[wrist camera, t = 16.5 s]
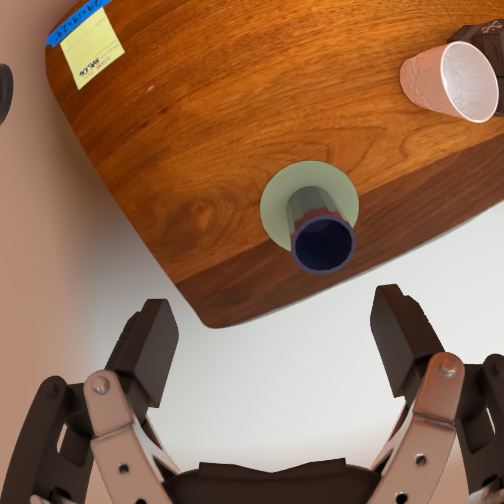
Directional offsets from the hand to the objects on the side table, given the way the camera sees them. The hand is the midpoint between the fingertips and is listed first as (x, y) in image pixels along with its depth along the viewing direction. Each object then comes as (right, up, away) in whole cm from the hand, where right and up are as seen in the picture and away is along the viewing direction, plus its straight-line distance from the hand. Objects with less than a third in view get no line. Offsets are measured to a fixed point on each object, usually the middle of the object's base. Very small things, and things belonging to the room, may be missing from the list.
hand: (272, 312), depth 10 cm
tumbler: (+6, +7, +22) cm, 24 cm away
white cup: (+19, +22, +13) cm, 32 cm away
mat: (+6, +7, +22) cm, 24 cm away
